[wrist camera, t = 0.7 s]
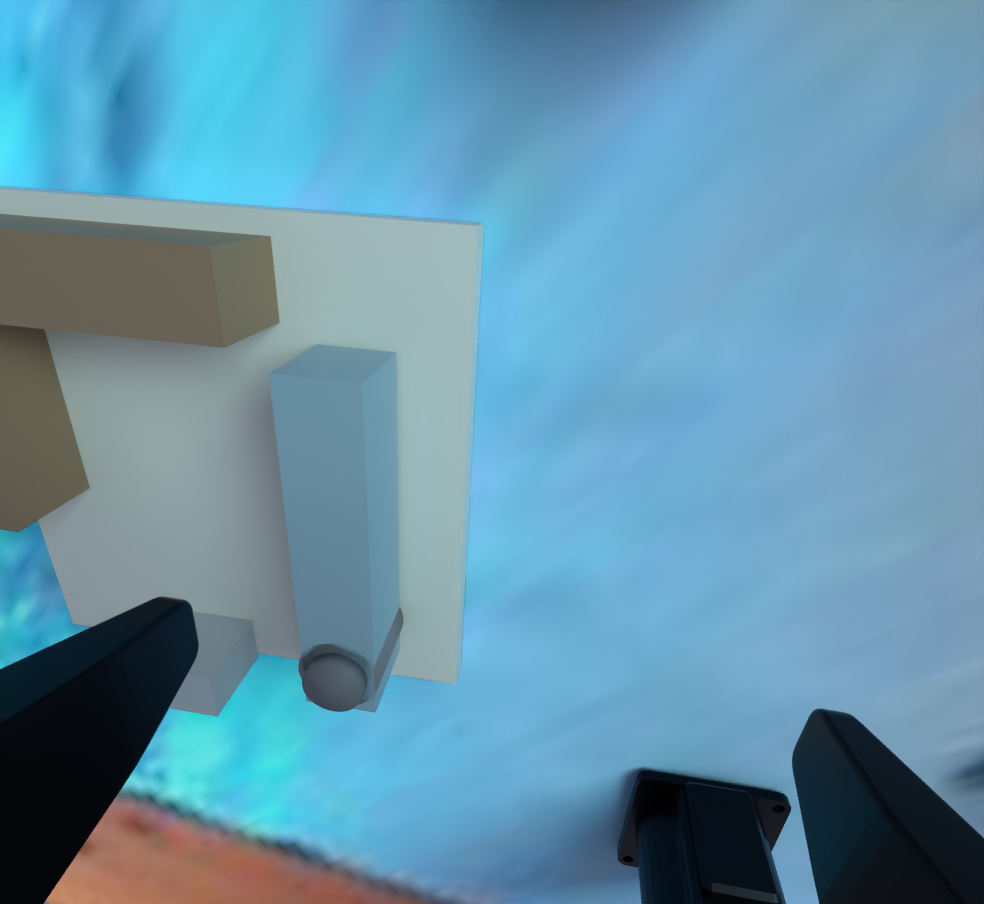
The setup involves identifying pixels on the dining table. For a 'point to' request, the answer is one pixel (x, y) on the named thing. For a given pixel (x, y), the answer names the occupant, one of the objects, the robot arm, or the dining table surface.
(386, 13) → the dining table surface
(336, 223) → the seat
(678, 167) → the dining table surface
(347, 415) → the leg
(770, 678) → the dining table surface
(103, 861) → the dining table surface
